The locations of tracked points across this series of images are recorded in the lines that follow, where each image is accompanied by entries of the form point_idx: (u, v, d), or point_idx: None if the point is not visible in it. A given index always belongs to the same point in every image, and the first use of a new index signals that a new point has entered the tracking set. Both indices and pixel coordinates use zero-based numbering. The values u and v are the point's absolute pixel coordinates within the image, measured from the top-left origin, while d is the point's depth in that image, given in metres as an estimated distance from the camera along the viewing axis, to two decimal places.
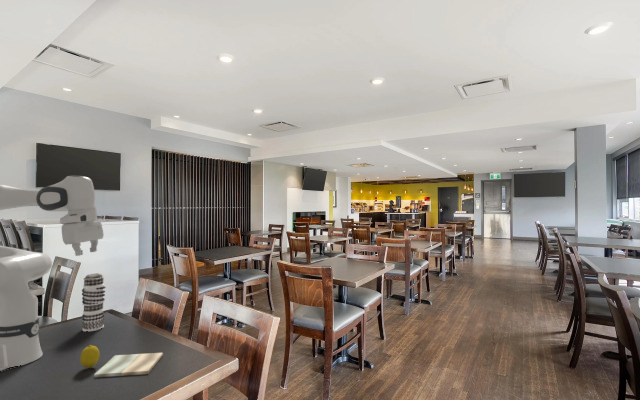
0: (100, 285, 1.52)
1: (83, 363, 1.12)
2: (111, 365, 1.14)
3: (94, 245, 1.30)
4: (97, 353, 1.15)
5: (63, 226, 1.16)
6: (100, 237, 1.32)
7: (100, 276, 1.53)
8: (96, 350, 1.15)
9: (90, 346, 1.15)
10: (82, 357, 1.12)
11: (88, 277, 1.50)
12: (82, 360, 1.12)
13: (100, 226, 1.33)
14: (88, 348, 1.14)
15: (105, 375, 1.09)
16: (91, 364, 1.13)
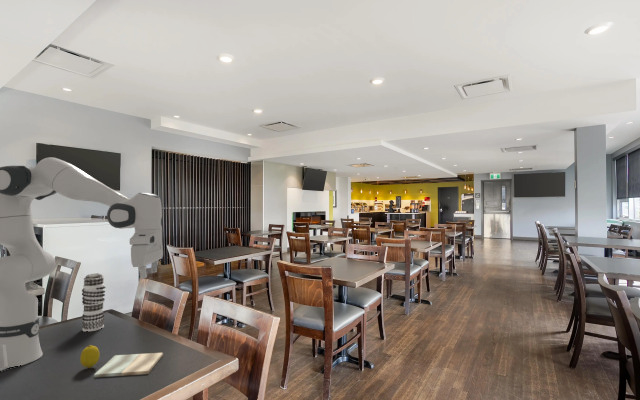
0: (100, 285, 1.52)
1: (83, 363, 1.12)
2: (111, 365, 1.14)
3: (155, 265, 1.24)
4: (97, 353, 1.15)
5: (132, 247, 1.10)
6: (160, 257, 1.26)
7: (100, 276, 1.53)
8: (96, 350, 1.15)
9: (90, 346, 1.15)
10: (82, 357, 1.12)
11: (88, 277, 1.50)
12: (82, 360, 1.12)
13: (161, 245, 1.27)
14: (88, 348, 1.14)
15: (105, 375, 1.09)
16: (91, 364, 1.13)
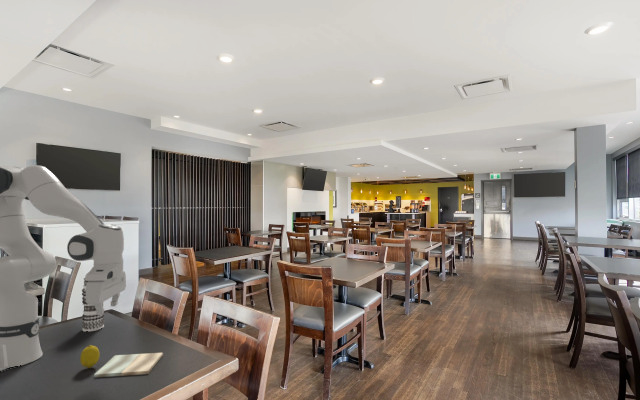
0: None
1: (83, 363, 1.12)
2: (111, 365, 1.14)
3: (115, 298, 1.20)
4: (97, 353, 1.15)
5: (88, 284, 1.06)
6: (122, 289, 1.23)
7: None
8: (96, 350, 1.15)
9: (90, 346, 1.15)
10: (82, 357, 1.12)
11: None
12: (82, 360, 1.12)
13: (124, 277, 1.23)
14: (88, 348, 1.14)
15: (105, 375, 1.09)
16: (91, 364, 1.13)
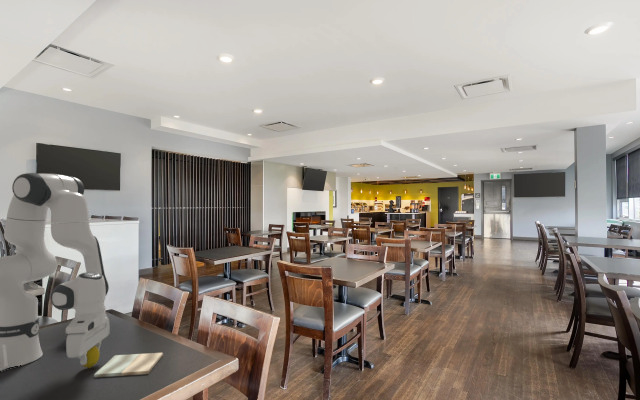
0: None
1: None
2: (111, 365, 1.14)
3: (97, 347, 1.19)
4: (97, 353, 1.15)
5: (68, 337, 1.06)
6: (106, 335, 1.22)
7: None
8: (96, 350, 1.15)
9: None
10: None
11: None
12: None
13: (107, 322, 1.23)
14: None
15: (105, 375, 1.09)
16: (91, 364, 1.13)
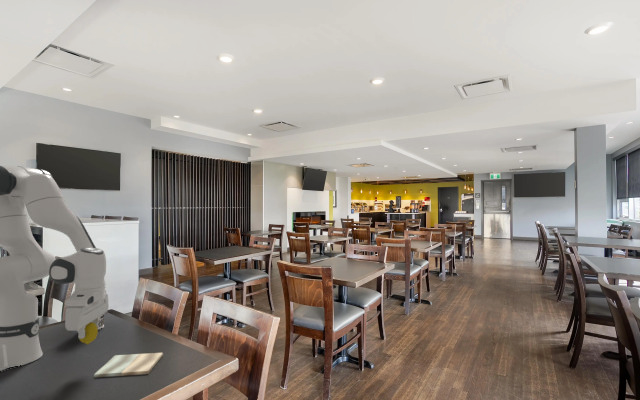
0: None
1: (81, 339, 1.13)
2: (111, 365, 1.14)
3: (95, 322, 1.19)
4: (95, 329, 1.15)
5: (68, 310, 1.06)
6: (105, 311, 1.23)
7: None
8: (94, 326, 1.15)
9: None
10: None
11: None
12: None
13: (106, 299, 1.24)
14: None
15: (105, 375, 1.09)
16: (89, 340, 1.14)
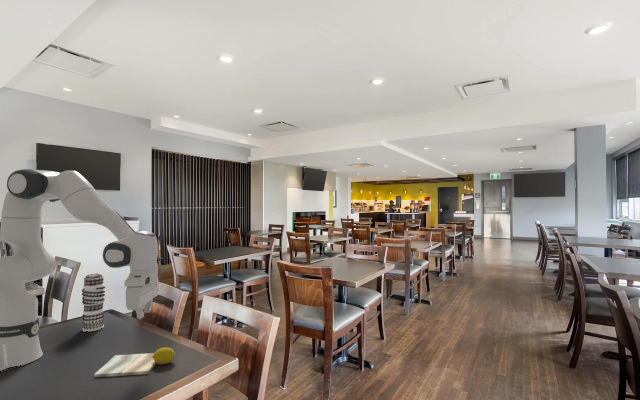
0: (100, 285, 1.52)
1: (158, 356, 1.16)
2: (111, 365, 1.14)
3: (149, 304, 1.21)
4: (166, 363, 1.18)
5: (127, 290, 1.08)
6: (156, 294, 1.25)
7: (100, 276, 1.53)
8: (169, 362, 1.18)
9: (174, 356, 1.18)
10: (164, 354, 1.16)
11: (88, 277, 1.50)
12: (161, 355, 1.16)
13: (157, 282, 1.26)
14: (172, 356, 1.17)
15: (105, 375, 1.09)
16: (156, 362, 1.16)
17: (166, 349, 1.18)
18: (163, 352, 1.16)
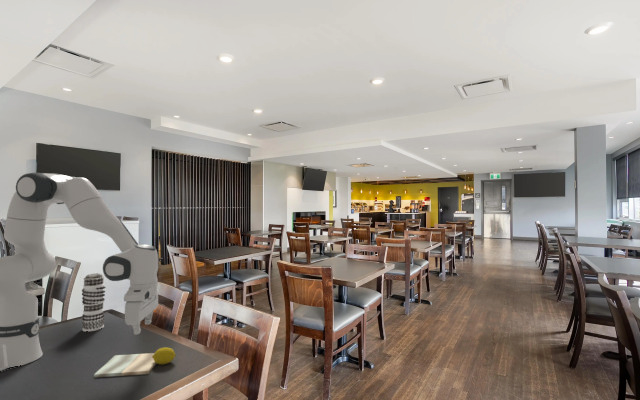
0: (100, 285, 1.52)
1: (158, 356, 1.15)
2: (111, 365, 1.14)
3: (149, 316, 1.23)
4: (166, 363, 1.18)
5: (127, 305, 1.08)
6: (155, 307, 1.25)
7: (100, 276, 1.53)
8: (169, 362, 1.18)
9: (174, 356, 1.18)
10: (164, 354, 1.16)
11: (88, 277, 1.50)
12: (161, 355, 1.16)
13: (156, 295, 1.26)
14: (172, 356, 1.17)
15: (105, 375, 1.09)
16: (156, 362, 1.16)
17: (166, 349, 1.18)
18: (163, 352, 1.16)
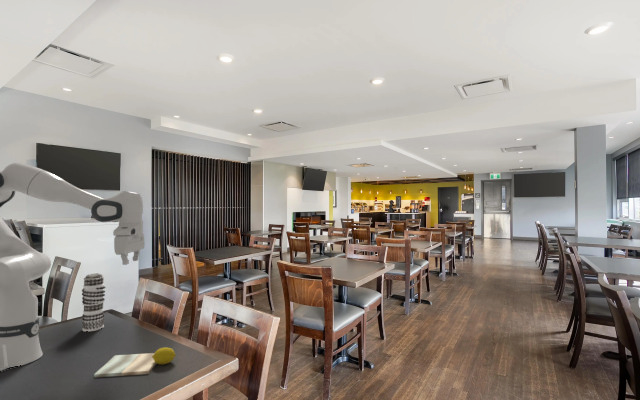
0: (100, 285, 1.52)
1: (158, 356, 1.16)
2: (111, 365, 1.14)
3: (136, 254, 1.43)
4: (166, 363, 1.18)
5: (116, 238, 1.29)
6: (142, 247, 1.45)
7: (100, 276, 1.53)
8: (169, 362, 1.18)
9: (174, 356, 1.18)
10: (164, 354, 1.16)
11: (88, 277, 1.50)
12: (161, 355, 1.16)
13: (143, 237, 1.46)
14: (172, 356, 1.17)
15: (105, 375, 1.09)
16: (156, 362, 1.16)
17: (166, 349, 1.18)
18: (163, 352, 1.16)
